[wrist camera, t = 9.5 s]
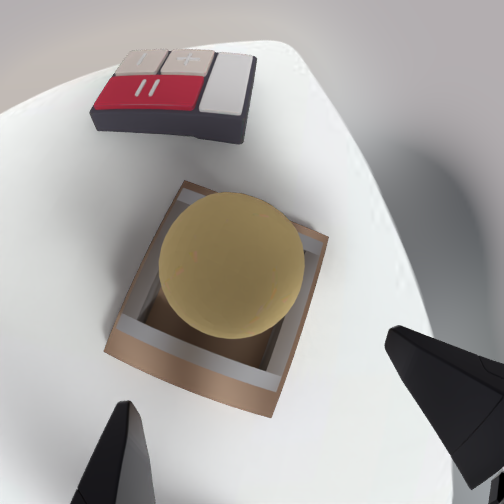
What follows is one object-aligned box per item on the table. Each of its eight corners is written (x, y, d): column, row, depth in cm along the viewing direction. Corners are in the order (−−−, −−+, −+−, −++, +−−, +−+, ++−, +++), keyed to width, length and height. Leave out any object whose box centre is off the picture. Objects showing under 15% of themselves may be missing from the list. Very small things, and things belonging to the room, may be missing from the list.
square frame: (321, 243, 24) (342, 223, 20) (266, 413, 19) (280, 426, 15) (185, 190, 23) (183, 161, 20) (110, 351, 18) (89, 350, 15)
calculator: (127, 47, 25) (258, 50, 26) (133, 73, 29) (254, 79, 30) (85, 108, 21) (246, 114, 22) (97, 137, 25) (242, 146, 26)
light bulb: (158, 316, 18) (114, 279, 9) (201, 236, 21) (201, 143, 11) (246, 358, 18) (288, 364, 9) (283, 274, 21) (344, 208, 11)
